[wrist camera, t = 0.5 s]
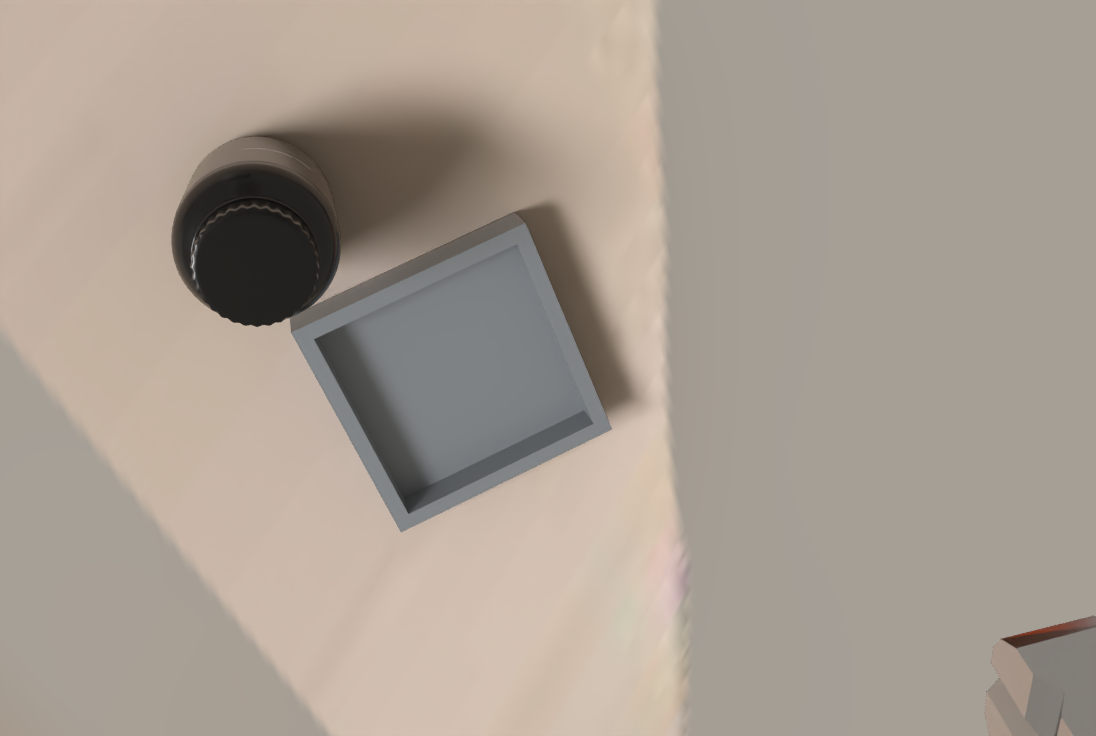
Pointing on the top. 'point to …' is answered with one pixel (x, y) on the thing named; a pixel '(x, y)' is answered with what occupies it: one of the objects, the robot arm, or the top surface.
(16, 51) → the top surface
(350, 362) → the tray
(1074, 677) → the robot arm
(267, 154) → the supplement bottle
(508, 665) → the top surface
